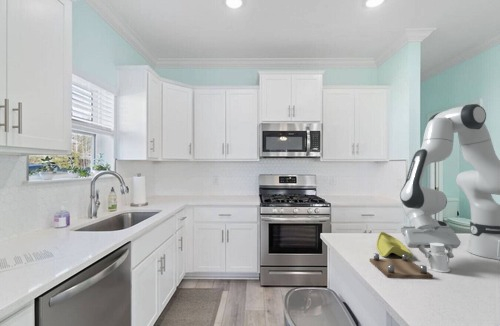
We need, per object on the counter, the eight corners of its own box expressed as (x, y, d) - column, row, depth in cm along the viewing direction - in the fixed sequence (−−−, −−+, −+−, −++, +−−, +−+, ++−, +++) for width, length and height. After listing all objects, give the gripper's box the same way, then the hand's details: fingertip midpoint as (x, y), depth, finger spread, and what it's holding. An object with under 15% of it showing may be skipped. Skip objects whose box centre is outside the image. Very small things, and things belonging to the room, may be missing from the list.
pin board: (408, 262, 108) (408, 253, 108) (432, 278, 92) (432, 268, 92) (369, 261, 109) (369, 252, 109) (387, 277, 93) (387, 267, 93)
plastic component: (413, 255, 110) (391, 244, 112) (405, 269, 111) (382, 258, 113) (398, 239, 130) (379, 229, 131) (391, 251, 131) (372, 242, 132)
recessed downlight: (443, 265, 104) (441, 241, 104) (455, 272, 97) (454, 246, 97) (422, 266, 104) (421, 241, 105) (433, 273, 97) (432, 247, 98)
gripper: (402, 222, 109) (416, 253, 99) (452, 222, 107) (471, 253, 97) (396, 230, 113) (409, 260, 103) (444, 230, 112) (462, 261, 102)
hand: (440, 257), depth 100 cm, fingers closed on recessed downlight, 7 cm apart
